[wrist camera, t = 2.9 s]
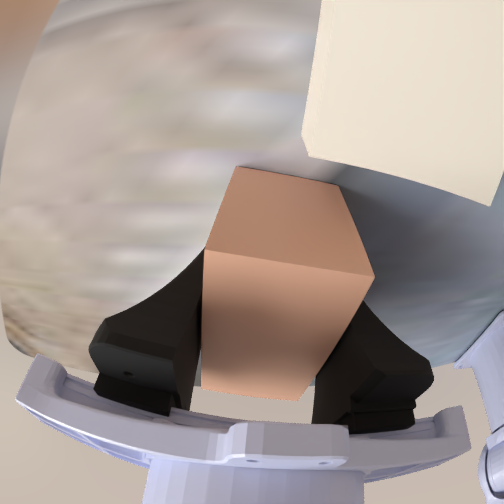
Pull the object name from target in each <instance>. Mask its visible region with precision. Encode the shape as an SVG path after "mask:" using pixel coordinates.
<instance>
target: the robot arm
mask: <svg viewBox="0 0 504 504" xmlns="http://www.w3.org/2000/svg"><path fill="white" fill-rule="evenodd" d="M204 249H205V248H204ZM204 249H203V250H202V251H201V252H200V253H199V255H198V256H197V257H196V258H195V259H194V260H193V261H192V262H191V263H190V264H189V265H188V266H187V267H186V268H185V269H184V270H183V271H182V272H181V273H180V274H179V275H178V276H177V277H176V278H174V279H173V280H172V281H171V282H170V283H168V284H167V285H166V286H164V287H163V288H162V289H160V290H159V291H158V292H156V293H155V294H153V295H152V296H150V297H149V298H147V299H145V300H144V301H142V302H140V303H138V304H137V305H135V306H133V307H131V308H129V309H127V310H125V311H123V312H120V313H118V314H115V315H113V316H111V317H108V318H105V319H104V321H103V322H102V324H101V325H100V327H99V328H98V330H97V332H96V334H95V336H94V338H93V340H92V342H91V344H90V346H89V353H90V356H91V358H92V360H93V362H94V363H95V365H96V367H97V369H98V370H99V372H100V373H99V376H98V378H97V381H96V383H95V384H93V383H90V382H88V381H85V380H83V379H80V378H78V377H75V376H72V375H70V374H68V373H67V371H66V370H65V368H64V367H63V366H62V365H61V364H60V363H58V362H57V361H55V360H52V359H50V358H48V357H46V356H44V355H41V354H39V353H38V354H37V355H36V356H35V358H34V361H33V362H32V364H31V366H30V368H29V370H28V372H27V374H26V376H25V378H24V380H23V382H22V385H21V387H20V389H19V391H18V393H17V396H16V398H15V400H16V401H17V402H18V403H19V404H20V405H21V406H22V407H24V408H25V409H26V410H27V411H29V412H30V413H31V414H32V415H33V416H35V417H36V418H37V419H39V420H40V421H41V422H42V423H44V424H46V425H48V426H50V427H52V428H53V429H55V430H57V431H59V432H61V433H63V434H65V435H67V436H69V437H71V438H73V439H75V440H77V441H79V442H81V443H84V444H86V445H88V446H90V447H92V448H95V449H97V450H99V451H101V452H104V453H106V454H109V455H111V456H114V457H116V458H119V459H121V460H124V461H127V462H130V463H133V464H136V465H138V466H142V467H145V468H148V469H149V473H148V478H147V482H146V487H145V492H144V496H143V502H142V504H364V483H368V482H374V481H379V480H384V479H388V478H393V477H397V476H401V475H405V474H409V473H413V472H417V471H421V470H424V469H428V468H431V467H434V466H438V465H440V464H442V463H445V462H447V461H449V460H450V459H453V458H455V457H457V456H459V455H461V454H463V453H465V452H467V451H469V450H470V449H471V443H470V439H469V434H468V429H467V425H466V420H465V416H464V411H463V408H462V406H456V407H451V408H446V409H444V410H441V411H440V412H438V413H437V414H436V415H435V416H434V417H428V418H421V419H415V418H414V413H413V409H414V408H416V402H415V399H417V398H418V397H419V396H420V395H421V394H423V393H424V392H425V391H426V390H427V389H428V388H429V387H430V386H431V385H432V383H433V381H434V376H433V372H432V369H431V365H430V362H429V360H427V359H426V358H425V357H423V356H422V355H420V354H419V353H417V352H416V351H414V350H413V349H411V348H410V347H409V346H408V345H406V344H405V343H404V342H403V341H401V340H400V339H399V338H398V337H397V336H396V335H395V334H393V333H392V332H391V331H390V330H389V329H388V328H387V327H386V326H385V325H384V324H383V323H382V322H381V321H380V320H379V319H378V317H377V316H376V315H375V314H374V313H373V312H372V311H371V310H370V308H369V307H368V306H367V305H366V303H365V302H364V301H363V300H362V302H361V304H360V306H359V308H358V309H357V311H356V313H355V314H354V316H353V318H352V320H351V321H350V323H349V325H348V326H347V328H346V330H345V331H344V333H343V335H342V336H341V338H340V339H339V341H338V343H337V344H336V346H335V347H334V349H333V351H332V352H331V354H330V355H329V357H328V358H327V360H326V361H325V363H324V364H323V366H322V367H321V369H320V370H319V372H318V373H317V375H316V379H315V396H314V407H313V416H312V423H311V424H299V423H297V424H296V423H282V422H269V421H248V420H240V419H232V418H225V417H219V416H213V415H207V414H202V413H196V412H192V411H189V410H190V403H191V398H192V392H193V386H194V381H195V375H196V370H197V365H198V360H199V355H200V350H201V338H202V294H203V268H204ZM453 367H454V369H462V368H473V371H474V374H475V377H476V380H477V383H478V386H479V389H480V392H481V396H482V399H483V402H484V406H485V410H486V414H487V417H488V421H489V425H490V430H491V434H492V435H490V436H489V437H487V438H486V442H487V444H486V445H485V446H484V448H483V450H482V453H481V456H480V459H479V464H478V477H479V483H480V486H481V488H482V490H483V492H484V495H485V499H486V504H504V311H502V312H501V313H500V314H499V315H498V316H497V317H496V318H495V320H494V321H493V322H492V323H491V324H490V326H489V327H488V328H487V329H486V330H485V332H484V333H483V334H482V335H481V336H480V337H479V338H478V339H477V341H476V342H475V343H474V344H473V345H472V346H471V347H470V348H469V349H468V350H467V351H466V352H465V353H464V354H463V355H462V357H461V358H460V359H459V360H458V361H457V362H456V363H455V364H454V365H453Z"/></svg>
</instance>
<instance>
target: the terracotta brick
mask: <svg viewBox="0 0 504 504" xmlns="http://www.w3.org/2000/svg"><path fill="white" fill-rule="evenodd" d="M374 278H375V276H374V273H373V270H372V267H371V265H370V262H369V259H368V256H367V254H366V251H365V249H364V246H363V243H362V241H361V238H360V236H359V233H358V231H357V228H356V226H355V224H354V221H353V219H352V216H351V214H350V212H349V209H348V207H347V205H346V202H345V200H344V198H343V196H342V193H341V191H340V189H339V187H338V185H333V184H329V183H324V182H319V181H315V180H310V179H305V178H300V177H295V176H290V175H284V174H279V173H273V172H267V171H262V170H255V169H249V168H243V167H236V168H235V170H234V173H233V175H232V178H231V180H230V183H229V185H228V188H227V190H226V193H225V196H224V198H223V201H222V203H221V206H220V209H219V211H218V214H217V217H216V219H215V222H214V225H213V227H212V230H211V233H210V235H209V238H208V241H207V244H206V246H205V249H204V268H203V294H202V338H201V388H202V389H206V390H211V391H217V392H223V393H229V394H236V395H243V396H251V397H260V398H268V399H280V400H291V401H298V400H299V399H300V397H301V396H302V394H303V393H304V392H305V390H306V389H307V387H308V386H309V385H310V383H311V382H312V380H313V379H314V378H315V376H316V375H317V373H318V372H319V370H320V369H321V367H322V366H323V364H324V363H325V361H326V360H327V358H328V357H329V355H330V354H331V352H332V351H333V349H334V347H335V346H336V344H337V343H338V341H339V339H340V338H341V336H342V335H343V333H344V331H345V330H346V328H347V326H348V325H349V323H350V321H351V320H352V318H353V316H354V314H355V313H356V311H357V309H358V308H359V306H360V304H361V302H362V300H363V299H364V297H365V295H366V293H367V291H368V289H369V288H370V286H371V284H372V282H373V280H374Z"/></svg>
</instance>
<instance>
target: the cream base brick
mask: <svg viewBox="0 0 504 504" xmlns="http://www.w3.org/2000/svg"><path fill="white" fill-rule="evenodd" d="M301 136H302V138H303V141H304V144H305V146H306V149H307V152H308V155H309V157H314V158H319V159H324V160H329V161H334V162H339V163H344V164H349V165H353V166H358V167H362V168H366V169H371V170H375V171H379V172H383V173H387V174H390V175H394V176H398V177H402V178H405V179H409V180H412V181H416V182H419V183H422V184H426V185H429V186H432V187H435V188H438V189H442V190H445V191H448V192H451V193H454V194H456V195H459V196H462V197H465V198H468V199H471V200H473V201H476V202H479V203H481V204H484V205H486V206H489V207H490V205H491V203H492V200H493V198H494V195H495V193H496V190H497V188H498V185H499V183H500V180H501V177H502V174H503V172H504V0H322V4H321V11H320V18H319V26H318V33H317V39H316V46H315V53H314V59H313V66H312V72H311V79H310V85H309V91H308V97H307V103H306V109H305V115H304V121H303V126H302V132H301Z"/></svg>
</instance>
